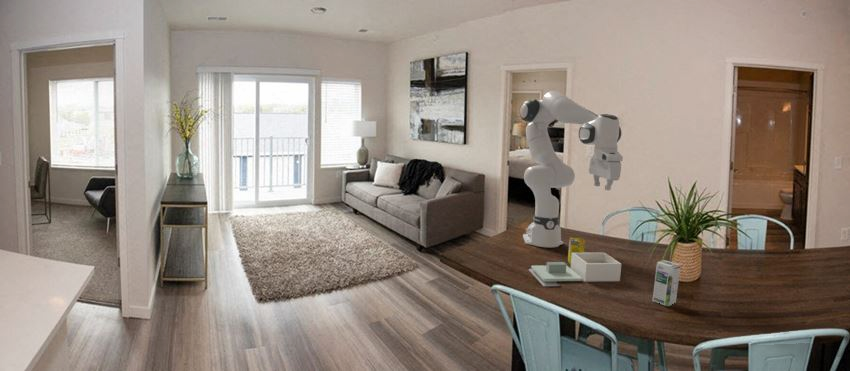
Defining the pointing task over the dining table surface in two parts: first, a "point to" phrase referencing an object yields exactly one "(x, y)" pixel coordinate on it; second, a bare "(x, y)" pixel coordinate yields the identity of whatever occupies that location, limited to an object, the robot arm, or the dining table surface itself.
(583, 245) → the supplement box
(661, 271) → the syrup box
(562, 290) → the dining table surface
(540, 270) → the lid
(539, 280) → the rubber mat
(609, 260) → the storage box
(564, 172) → the robot arm
